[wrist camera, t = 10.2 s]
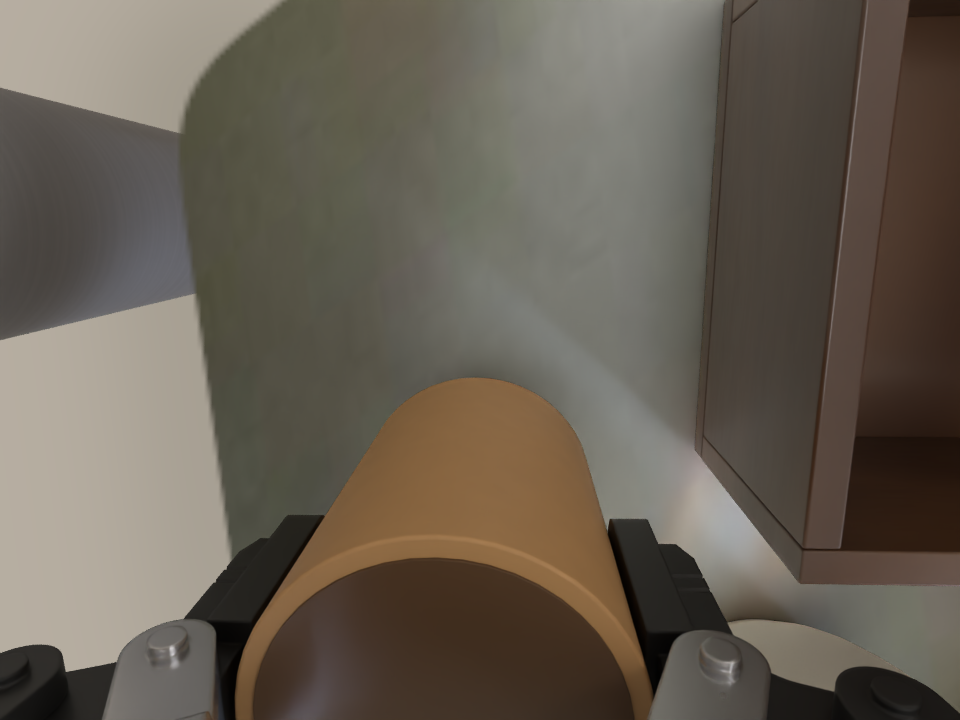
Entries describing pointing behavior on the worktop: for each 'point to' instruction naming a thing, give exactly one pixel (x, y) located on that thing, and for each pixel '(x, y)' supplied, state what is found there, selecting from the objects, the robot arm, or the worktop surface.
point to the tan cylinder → (454, 579)
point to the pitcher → (805, 651)
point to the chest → (838, 286)
